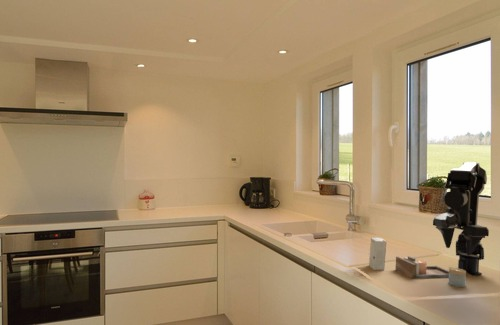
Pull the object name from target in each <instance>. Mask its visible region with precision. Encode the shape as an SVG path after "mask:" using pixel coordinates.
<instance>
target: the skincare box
mask: <svg viewBox="0 0 500 325" xmlns="http://www.w3.org/2000/svg"><path fill="white" fill-rule="evenodd" d="M386 253H387V241H386V240H385V239H384V238H382V237H370V247H369V258H368V259H369V261H368V266H369V267H370V268H371V269H372V270H374V271H385V269H386V268H385V266H386V265H385V264H386Z"/></svg>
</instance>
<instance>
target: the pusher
mask: <svg viewBox="0 0 500 325" xmlns="http://www.w3.org/2000/svg"><path fill="white" fill-rule="evenodd" d="M403 259H405V260H407V261H409V262H411V263H414V264H416V267H415V275H419V263H418V262H416V261H415V259H416V258H414V257H412V256H407V257H406V256H405V257H403Z"/></svg>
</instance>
